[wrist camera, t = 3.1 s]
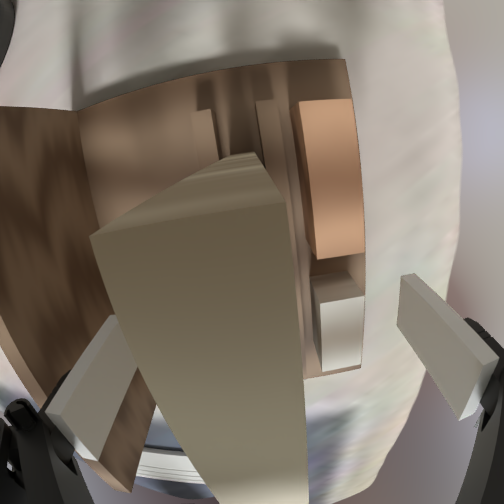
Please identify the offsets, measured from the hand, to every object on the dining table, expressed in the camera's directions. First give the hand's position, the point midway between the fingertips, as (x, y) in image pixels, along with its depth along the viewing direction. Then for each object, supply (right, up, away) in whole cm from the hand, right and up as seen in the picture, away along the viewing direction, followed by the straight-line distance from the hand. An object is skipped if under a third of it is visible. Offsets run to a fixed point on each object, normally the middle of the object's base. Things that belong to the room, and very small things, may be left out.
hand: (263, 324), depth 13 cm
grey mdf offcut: (+6, -1, +10) cm, 12 cm away
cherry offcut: (+4, +9, +6) cm, 11 cm away
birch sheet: (0, +3, +8) cm, 9 cm away
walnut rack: (-3, +3, +10) cm, 11 cm away
